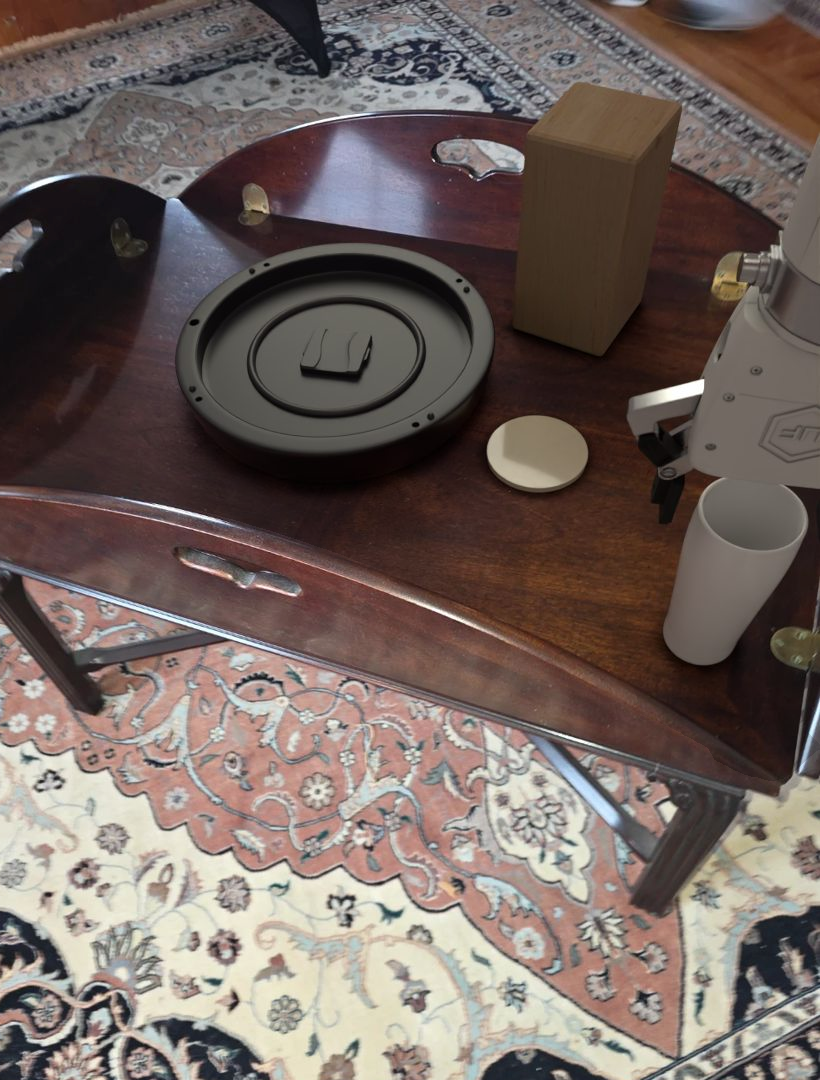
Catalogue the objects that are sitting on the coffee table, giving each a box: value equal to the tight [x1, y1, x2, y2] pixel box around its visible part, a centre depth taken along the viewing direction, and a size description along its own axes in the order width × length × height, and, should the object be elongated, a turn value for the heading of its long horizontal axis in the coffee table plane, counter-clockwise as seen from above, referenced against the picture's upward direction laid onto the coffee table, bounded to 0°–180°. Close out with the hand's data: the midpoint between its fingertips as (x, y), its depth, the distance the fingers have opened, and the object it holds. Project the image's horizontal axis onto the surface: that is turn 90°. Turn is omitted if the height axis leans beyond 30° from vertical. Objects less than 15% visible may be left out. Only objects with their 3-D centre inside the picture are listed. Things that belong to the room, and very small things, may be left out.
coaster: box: [485, 415, 589, 493], centre depth 79 cm, size 9×9×1 cm
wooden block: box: [511, 81, 683, 357], centre depth 81 cm, size 10×10×20 cm
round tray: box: [174, 242, 496, 484], centre depth 84 cm, size 30×6×30 cm
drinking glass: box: [662, 477, 809, 666], centre depth 61 cm, size 7×7×15 cm
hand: (742, 517), depth 55 cm, fingers open, 9 cm apart
